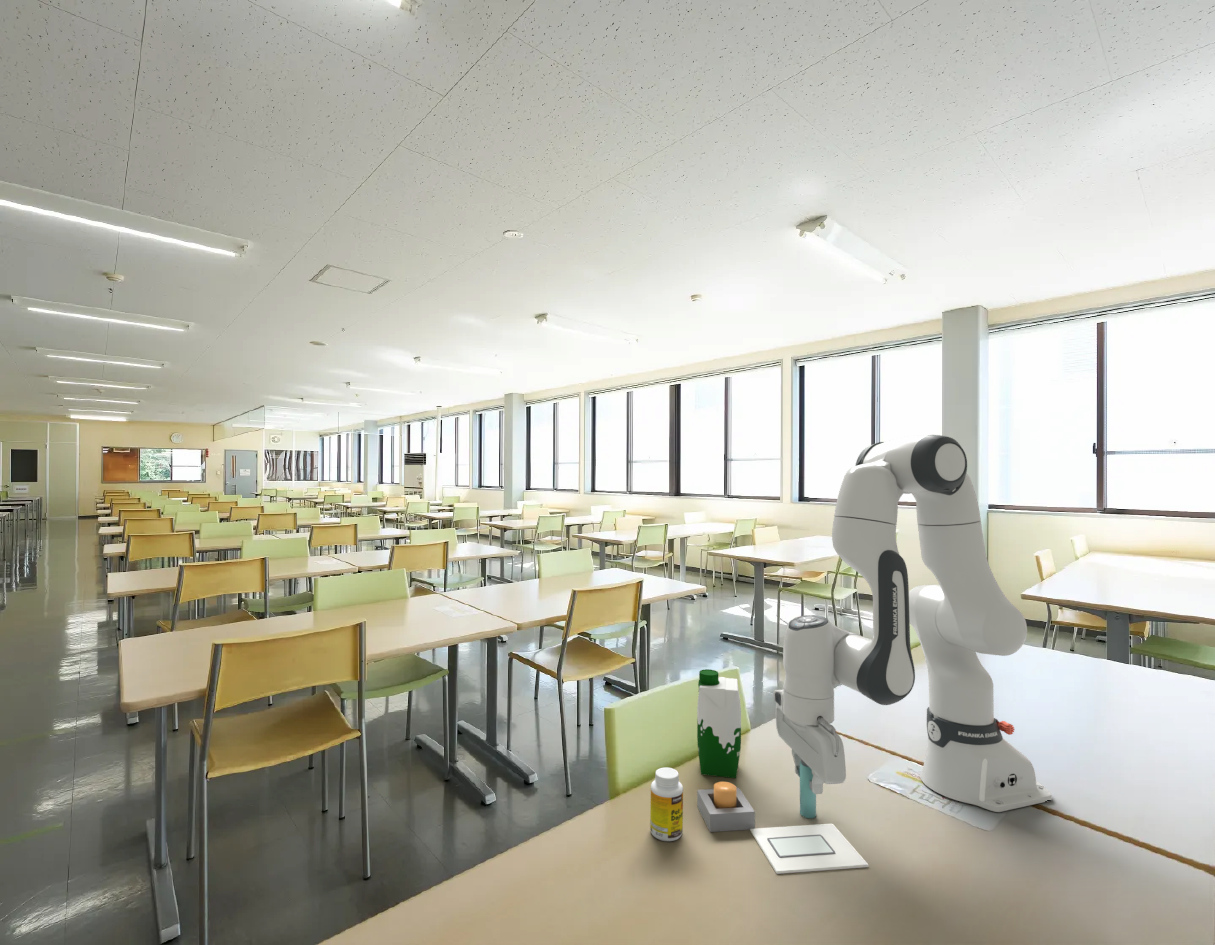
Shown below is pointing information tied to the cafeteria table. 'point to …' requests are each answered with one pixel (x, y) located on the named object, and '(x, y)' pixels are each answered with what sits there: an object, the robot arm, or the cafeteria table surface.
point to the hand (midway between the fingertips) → (808, 783)
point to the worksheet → (807, 848)
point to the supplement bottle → (666, 805)
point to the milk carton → (718, 724)
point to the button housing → (725, 813)
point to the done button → (724, 795)
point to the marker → (806, 792)
